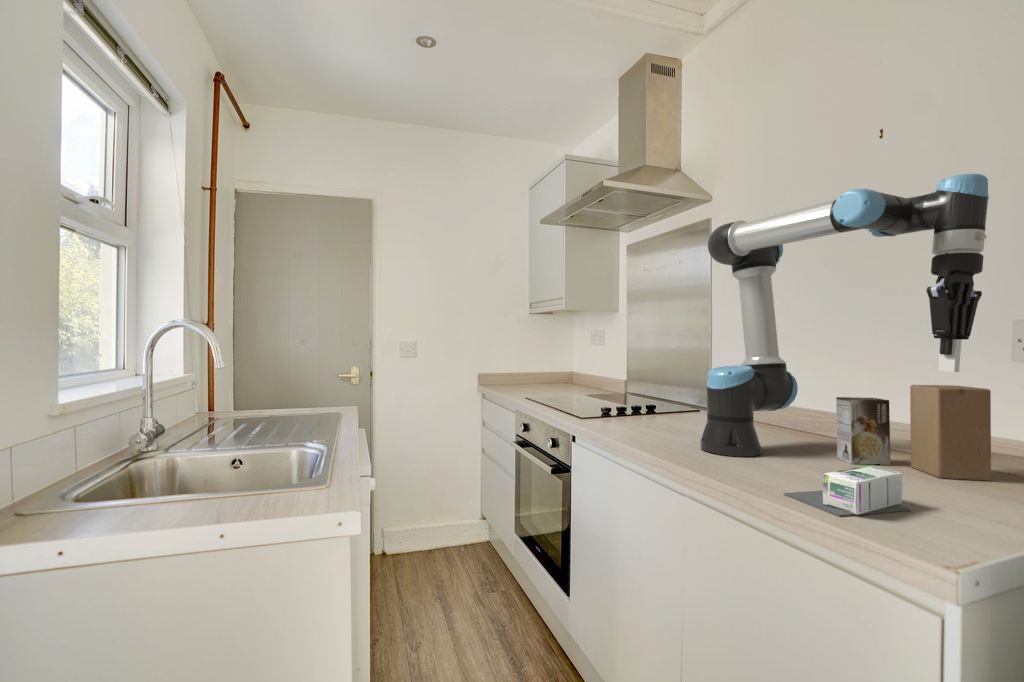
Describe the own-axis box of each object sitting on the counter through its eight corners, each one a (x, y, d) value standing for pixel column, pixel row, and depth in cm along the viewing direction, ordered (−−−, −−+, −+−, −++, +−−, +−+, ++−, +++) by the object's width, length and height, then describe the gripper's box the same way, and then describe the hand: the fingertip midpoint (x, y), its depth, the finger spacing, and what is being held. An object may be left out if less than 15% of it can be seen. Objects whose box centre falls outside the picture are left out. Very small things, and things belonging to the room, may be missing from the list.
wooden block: (992, 481, 100) (991, 389, 100) (938, 478, 102) (938, 387, 102) (958, 469, 110) (957, 385, 110) (909, 467, 112) (909, 384, 112)
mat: (846, 490, 93) (846, 488, 93) (909, 510, 81) (909, 509, 81) (783, 494, 90) (783, 493, 90) (839, 516, 78) (839, 515, 78)
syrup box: (903, 472, 84) (857, 480, 78) (903, 504, 84) (856, 515, 78) (868, 464, 90) (822, 471, 83) (867, 495, 89) (821, 504, 83)
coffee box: (873, 459, 120) (873, 397, 120) (891, 465, 113) (891, 400, 113) (835, 458, 121) (835, 396, 121) (851, 464, 114) (851, 399, 114)
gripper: (958, 247, 88) (949, 372, 88) (1002, 255, 92) (992, 374, 92) (913, 253, 95) (905, 368, 95) (955, 260, 99) (947, 370, 99)
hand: (948, 371), depth 94 cm, fingers closed
